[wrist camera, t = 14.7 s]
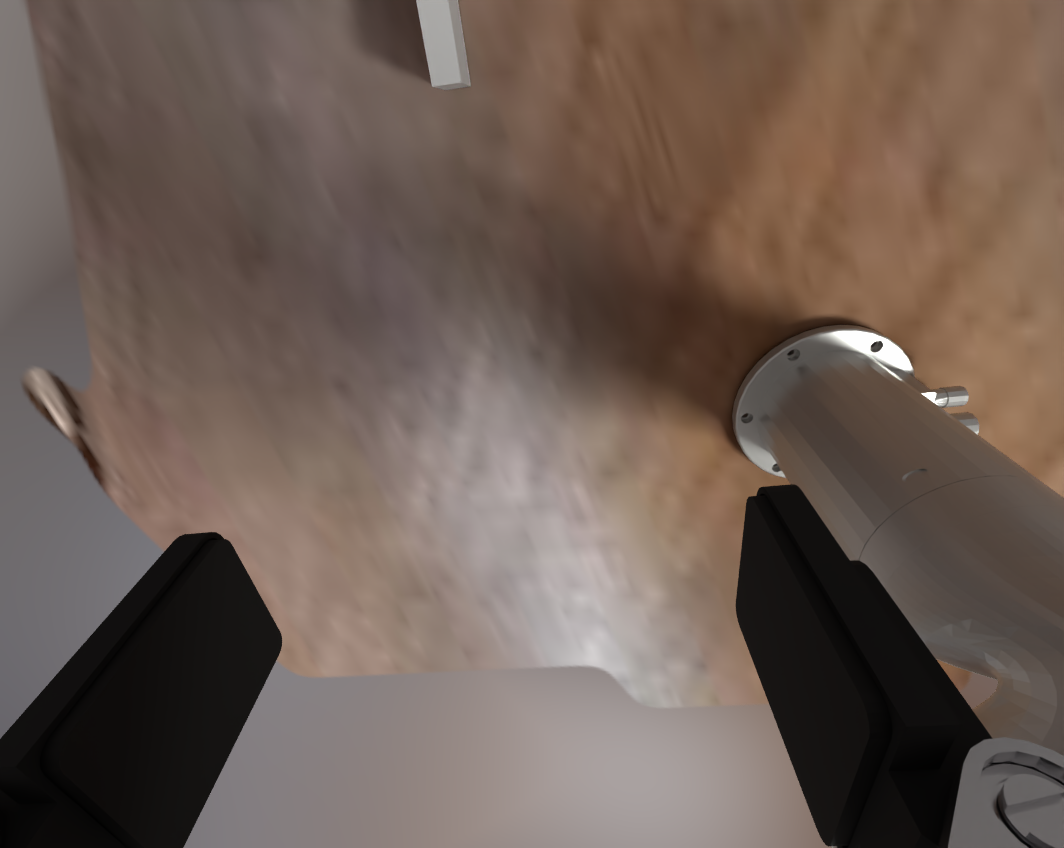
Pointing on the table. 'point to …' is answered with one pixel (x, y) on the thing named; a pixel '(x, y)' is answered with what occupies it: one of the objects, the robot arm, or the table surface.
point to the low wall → (444, 43)
